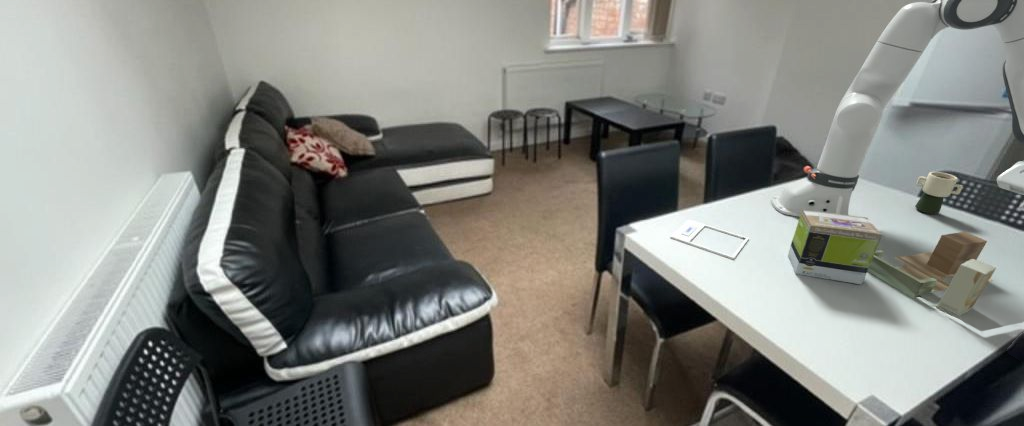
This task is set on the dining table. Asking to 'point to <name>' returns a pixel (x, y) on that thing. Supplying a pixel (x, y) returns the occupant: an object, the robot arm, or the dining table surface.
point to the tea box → (833, 246)
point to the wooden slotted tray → (910, 274)
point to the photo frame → (694, 228)
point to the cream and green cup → (936, 191)
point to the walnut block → (955, 251)
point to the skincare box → (966, 287)
